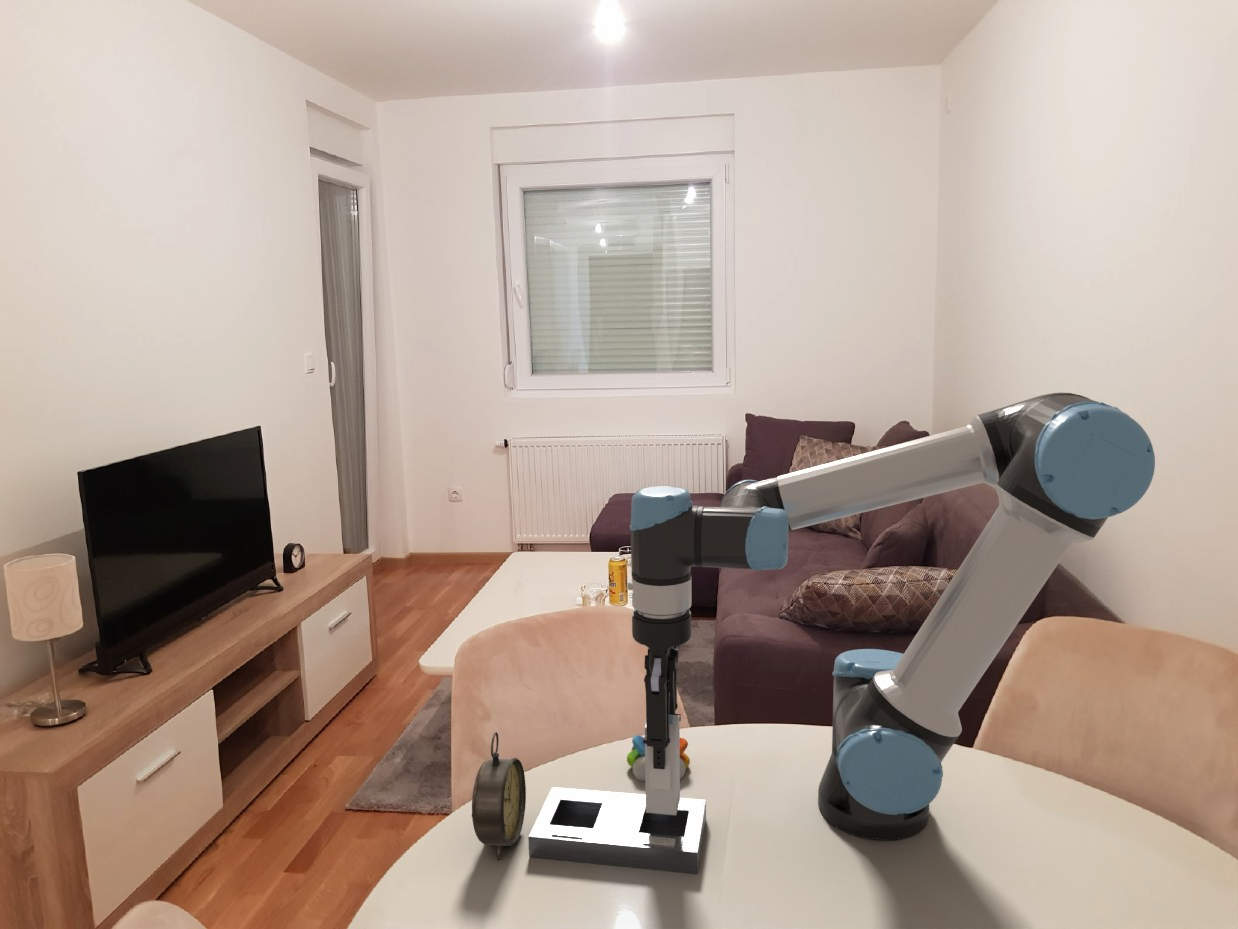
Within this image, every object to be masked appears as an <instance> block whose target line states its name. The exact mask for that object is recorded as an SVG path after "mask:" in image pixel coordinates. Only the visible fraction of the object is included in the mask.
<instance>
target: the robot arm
mask: <svg viewBox="0 0 1238 929" xmlns="http://www.w3.org/2000/svg"><path fill="white" fill-rule="evenodd" d="M1155 468H1156V456H1155V451H1154V447H1153V443H1152V441H1151V439H1150V437H1149V436H1148V433H1147V432H1146V430H1145V429H1144V427H1142V426H1141V425H1140V423H1139V422H1138V421H1136V420H1135V419H1134V418H1132V417H1131V416H1130V415H1129V414H1127V413H1126V412H1124V411H1122V410H1120V409H1119V407H1116V406H1112V405H1111V404H1110V405H1109V404H1107V403H1105V402H1102V401H1097V400H1093V399H1091V398H1088V397H1087V396H1084V395H1080V394H1078V393H1077V394H1076V393H1072V392H1054V393H1046V394H1041V395H1038V396H1035V397H1032V398H1028V399H1025V400H1022V401H1018V402H1015V403H1013V404H1009V405H1005V406H1002V407H1001V408H996V409H993V410H990V411H987V412H983V413H980V414H976V415H973V416H972V418H971V419H970V421H969V422H968V424H967V425H965V426H962V427H957V428H953V429H950V430H946V431H943V432H939V433H936V434H932V435H927V436H924V437H920V438H917V439H912V440H910V441H909V440H908V441H905V442H902V443H898V444H894V445H891V446H886V447H884V448H880V449H876V450H873V451H868V452H864V453H860V454H857V455H856V454H855V455H853V456H850V457H846V458H842V459H838V460H835V461H831V462H828V463H823V464H819V465H816V466H812V467H809V468H804V469H801V470H797V471H792V472H790V473H786V474H781V475H778V476H777V477H771V478H767V479H763V480H760V481H758V480H755V479H744V480H743V479H742V480H740V481H738V482H736V483H735V484H733V485H732V486H731V487H730V488H729V489H727V490H726V492H725V493H724V495H723V497H722V498H721V501H720V505H719V506H704V505H702V506H701V505H697V504H695V505H694V504H693V501H692V497H691V493H690V492H689V490H687V489H686V488H683V487H674V486H671V485H670V486H669V485H659V486H657V485H656V486H648V487H645V488H641V489H639V490H637V491H636V492H635V493H634V494H633V495H632V497H631V506H630V508H631V509H630V525H629V530H630V531H629V533H630V534H629V535H630V536H629V537H630V561H631V563H630V565H631V581H629V582H628V583H627V585H626V589H628V590H629V591H632V594H631V604H632V608H633V610H632V612H631V631H632V633H631V635H632V638H633V639H634V641H635V642H636V643H638V644H640V645H642V646H645V647H646V648H647V654H645V655H644V669H645V671H646V672H645V675H644V679H643V682H644V689H645V713H646V714H645V715H646V716H645V720H646V721H645V725H646V728H647V737H645V736H643V737H644V739H643V744H647V746H649V767H650V788H652V789H663V790H671V741H670V739H669V717H670V715H679V723H680V722H681V721H682V720H681V718H682V714H681V713H676V711H677V709H678V707H679V706H678V662H679V657H680V652H679V651H680V650H679V648H678V647H679V646H682V645H684V644H686V643H687V642H689V640H690V638H691V637H692V612H691V610H690V608H691V607H692V605H693V604H692V603H693V602H692V600H693V599H692V596H693V595H692V592H693V591H692V590H693V589H692V586H693V585H692V582H693V581H692V570H691V568H692V567H698V568H699V567H701V568H720V569H721V568H723V569H735V570H736V569H737V570H738V569H739V570H740V569H741V570H753V571H757V572H759V571H762V570H763V571H766V570H781V569H784V568H785V567H786V566H787V564H788V557H789V555H788V554H789V532H792V531H793V530H797V529H801V528H807V527H811V526H814V525H817V524H821V523H827V522H830V521H834V520H838V519H841V518H842V519H843V518H848V517H850V516H854V515H858V514H862V513H866V512H870V511H874V510H879V509H883V508H887V507H891V506H895V505H899V504H902V503H903V504H904V503H907V502H911V501H915V500H919V499H923V498H927V497H931V496H935V495H938V494H943V493H947V492H952V491H955V490H959V489H964V488H967V487H972V486H976V485H980V484H987V485H988V486H990V487H993V488H994V489H995V490H996V493H997V494H996V495H997V497H998V500H999V501H998V507H997V508H996V509H995V512H994V513H993V514H992V516H991V518H990V519H989V521H988V523H986V525H985V527H984V528H983V530H982V531H981V533H980V534H979V536H978V538H977V539H976V541H975V543H974V544H973V545H972V547H971V549H970V550H969V552H968V554H967V555H966V557H965V558H964V560H962V561H963V562H962V563H961V564H960V566H959V567H958V569H957V570H956V572H955V574H954V575H953V577H952V578H951V580H950V582H949V583H948V584H947V586H946V588H945V589H944V590H943V592H942V594H941V596H940V597H939V598H938V600H937V601H936V604H935V605H934V607H933V608H932V609H931V611H930V612H929V613H928V615H927V617H926V619H925V620H924V622H923V623H922V624H921V626H920V628H919V630H918V631H917V633H916V635H915V636H914V637H913V639H912V641H911V642H910V644H909V645H908V647H907V649H906V650H905V652H904V653H902V652H897V651H894V650H892V651H891V650H886V649H878V648H862V649H861V648H858V649H852V650H847V651H844V652H841V653H840V654H838V655H837V657H835V660H834V666H833V671H832V677H833V697H832V699H833V700H832V731H831V733H832V736H831V738H832V739H831V741H832V742H831V754H830V756H829V760H828V762H827V764H826V767H825V770H824V771H823V774H822V777H821V780H820V783H819V785H818V794H817V796H818V797H817V802H818V803H817V805H818V809H819V811H820V814H822V816H823V817H824V819H826V821H828V822H829V823H830V824H831V825H833V826H834V827H836V828H838V829H840V830H842V831H844V832H846V833H849V834H851V835H854V836H857V837H861V838H865V839H871V840H877V841H892V840H893V841H896V840H902V839H906V838H910V837H913V836H915V835H917V834H919V833H920V832H922V831H923V830H924V829H925V828H926V826H927V824H928V823H929V820H930V819H929V818H930V804H931V803H932V802H933V801H934V800H935V798H937V795H938V794H939V792H940V790H941V787H942V783H943V778H944V769H943V765H942V762H943V760H944V759H945V758H946V755H947V754H948V753H949V752H950V750H951V748H952V747H953V745H955V743H956V741H957V739H958V738H959V736H960V735H961V734H962V731H963V728H962V724H961V719H960V716H959V711H960V710H961V709H962V707H963V705H964V703H966V701H967V699H968V698H969V696H970V695H971V693H972V692H973V690H974V689H975V688H976V686H977V685H978V683H979V682H980V680H981V678H982V677H983V675H984V674H985V672H986V671H987V670H988V668H989V667H990V665H991V664H992V662H993V661H994V659H995V658H996V656H997V655H998V654H999V652H1000V651H1001V649H1002V647H1003V646H1004V644H1005V643H1006V641H1007V640H1008V638H1009V637H1010V636H1011V635H1012V633H1013V631H1014V630H1015V628H1016V627H1017V625H1018V624H1019V622H1020V621H1021V620H1022V618H1023V616H1024V615H1025V613H1026V612H1027V611H1028V609H1029V607H1030V606H1031V605H1032V603H1033V602H1034V600H1035V599H1036V597H1037V595H1039V593H1040V591H1041V590H1042V589H1043V587H1044V586H1045V584H1046V582H1047V581H1049V580H1048V579H1049V578H1050V576H1051V575H1052V574H1053V572H1054V571H1055V569H1056V568H1057V566H1058V565H1059V563H1060V562H1061V560H1062V559H1063V557H1064V556H1065V554H1066V553H1067V552H1068V550H1069V549H1070V547H1071V546H1073V545H1074V544H1075V545H1076V544H1079V543H1083V542H1088V541H1093V540H1094V539H1095V537H1096V536H1097V534H1098V533H1099V531H1100V530H1101V528H1102V527H1103V526H1104V524H1105V523H1106V521H1107V520H1108V518H1110V517H1113V516H1116V515H1120V514H1122V513H1124V512H1126V511H1128V510H1129V509H1131V508H1132V507H1134V506H1135V505H1136V504H1138V502H1139V501H1140V500H1141V499H1143V497H1144V495H1145V494H1146V493H1147V491H1148V489H1149V488H1150V486H1151V484H1152V481H1153V478H1154V474H1155Z"/></svg>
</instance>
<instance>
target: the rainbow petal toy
mask: <svg viewBox="0 0 1238 929" xmlns="http://www.w3.org/2000/svg"><path fill="white" fill-rule="evenodd" d="M644 737H645V736H642V735H640V734H639V735H634V736H633V737H632V739H631V742H632V746H631V751H629V752H628V753H627V756H626V761H627V764H628V765H629V767H631V768H632V773H633V775H634V777H635V778H636V779H637V780H638V781H641V782H645V744H643V739H644ZM688 746H689V741H687V739H686V738H684V737H680V780H681V779H682V778H683V777H684V775H685V773H686V770H687V768H688V767H689V765H690V762H691V761H690V757H689V756H688V754H686V753H685V751H686V749H687V748H688Z"/></svg>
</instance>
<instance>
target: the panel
mask: <svg viewBox="0 0 1238 929" xmlns="http://www.w3.org/2000/svg"><path fill="white" fill-rule="evenodd" d="M706 822H707V799H702V798H691V797H680V800H679V805H678V810H677V814H676V815H667V814H656V813H646V794H641V793H630V792H629V793H628V792H620V791H619V792H618V791H607V790H606V791H605V790H596V789H595V790H594V789H583V788H571V787H569V788H568V787H559V786H558V787H557V786H552V787H551V788H550V790H549V793H548V794H547V797H546V799H545V801H544V802H543V805H542V807H541V809H540V812H539V813H538V815H537V818H536V820H535V822H534V824H533V826H532V828H531V830H530V832H529V834H528V855H529V858H530V859H540V860H549V861H561V862H570V863H578V864H579V863H580V864H582V863H583V864H592V865H600V866H611V867H619V868H629V869H639V870H640V869H642V870H651V871H660V872H661V871H662V872H668V873H669V872H670V873H671V872H672V873H680V874H681V873H682V874H690V875H698V873H699V868H700V860H701V854H702V847H703V842H704V841H703V839H704V834H705V828H706Z"/></svg>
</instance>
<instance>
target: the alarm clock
mask: <svg viewBox="0 0 1238 929" xmlns="http://www.w3.org/2000/svg"><path fill="white" fill-rule="evenodd" d="M495 738H496V744H495V745H496V746H495V751H494V742H495ZM499 741H500V740H499V733H498V731H494V732H493V734H492V738H491V744H490V756H491V757H490V758H487V759H486V760H485V761H484V762H482V764H481V765H480V766H479V769H478V772H477V774H476V777H475V780H474V785H473V790H472V798H471V818H472V826H473V830H474V833H475V836H476V837H477V839H478V841H479V842H480V843H481V844H483V845H486V846H496V856H497V857H496V858H497V861H498V862H499V861H501V860H502V856H503V855H502V854H503V848H504V847H506V846H511V847H512V846H513V845H515V844H516V843H517V842H518V840H519V838H520V835H521V833H522V830H523V829H522V828H523V824H524V820H525V811H526V803H527V801H526V800H527V799H526V798H527V795H526V794H527V792H526V791H527V788H526V786H527V784H526V777H525V771H524V767H523V765H522V762H521V760H520V759H519V758H518V757H499V756H500V753H499V752H498V751H499Z"/></svg>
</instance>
